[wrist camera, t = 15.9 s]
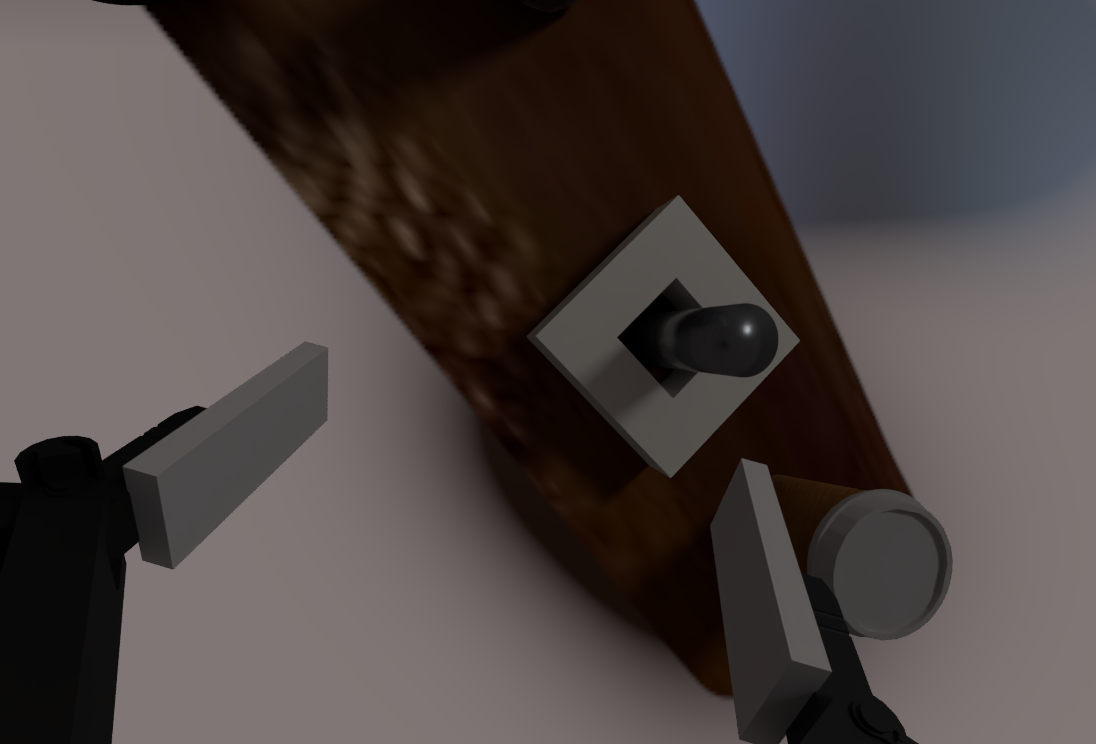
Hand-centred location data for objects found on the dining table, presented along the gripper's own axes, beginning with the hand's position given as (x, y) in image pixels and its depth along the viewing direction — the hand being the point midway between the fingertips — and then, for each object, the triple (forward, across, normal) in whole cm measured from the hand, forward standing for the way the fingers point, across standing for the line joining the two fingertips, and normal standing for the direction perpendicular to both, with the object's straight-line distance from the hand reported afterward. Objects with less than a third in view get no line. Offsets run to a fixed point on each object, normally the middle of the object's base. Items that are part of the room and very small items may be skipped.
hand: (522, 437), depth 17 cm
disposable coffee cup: (+24, +20, -18) cm, 36 cm away
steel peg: (+26, +6, -6) cm, 27 cm away
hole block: (+26, +6, -6) cm, 27 cm away
